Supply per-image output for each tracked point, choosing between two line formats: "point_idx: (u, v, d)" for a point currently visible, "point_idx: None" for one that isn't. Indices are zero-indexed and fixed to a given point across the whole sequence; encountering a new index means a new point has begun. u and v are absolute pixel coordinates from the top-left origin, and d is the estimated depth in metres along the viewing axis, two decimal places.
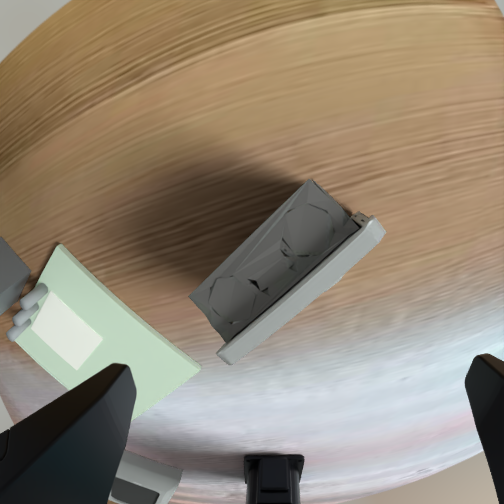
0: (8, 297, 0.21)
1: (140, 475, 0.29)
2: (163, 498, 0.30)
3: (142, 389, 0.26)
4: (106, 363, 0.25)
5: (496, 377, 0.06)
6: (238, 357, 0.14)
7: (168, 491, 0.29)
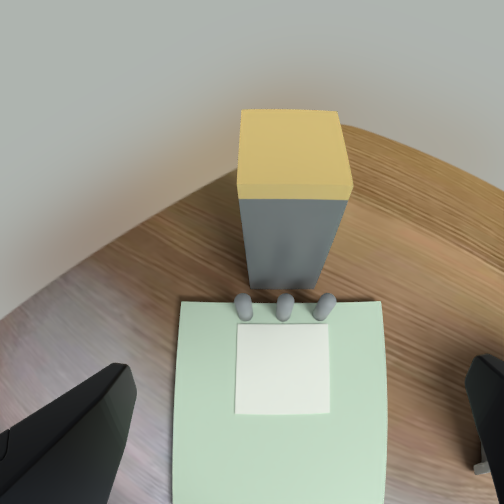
0: (288, 275, 0.21)
1: None
2: None
3: (294, 493, 0.16)
4: (294, 438, 0.18)
5: (496, 377, 0.06)
6: None
7: None
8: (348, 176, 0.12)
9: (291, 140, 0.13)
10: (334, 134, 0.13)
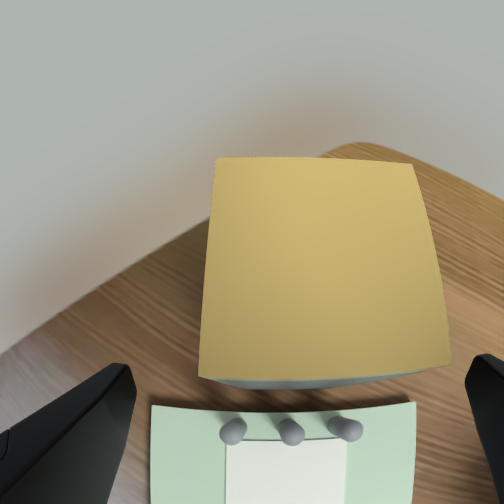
0: (298, 388, 0.13)
1: None
2: None
3: None
4: None
5: (496, 377, 0.06)
6: None
7: None
8: (444, 340, 0.05)
9: (326, 245, 0.06)
10: (414, 225, 0.06)
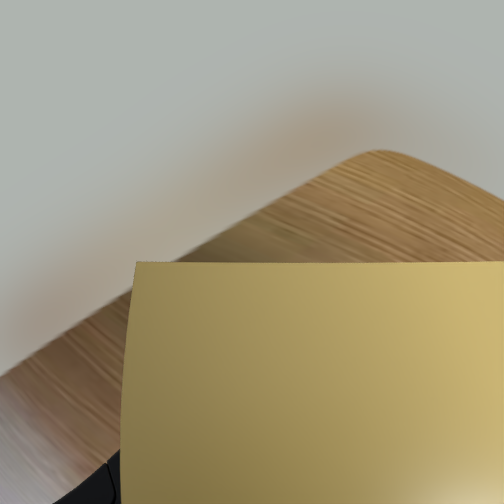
0: None
1: None
2: None
3: None
4: None
5: None
6: None
7: None
8: None
9: None
10: None
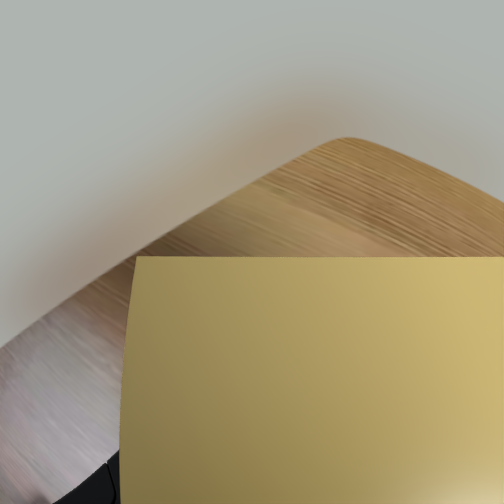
0: None
1: None
2: None
3: None
4: None
5: None
6: None
7: None
8: None
9: None
10: None
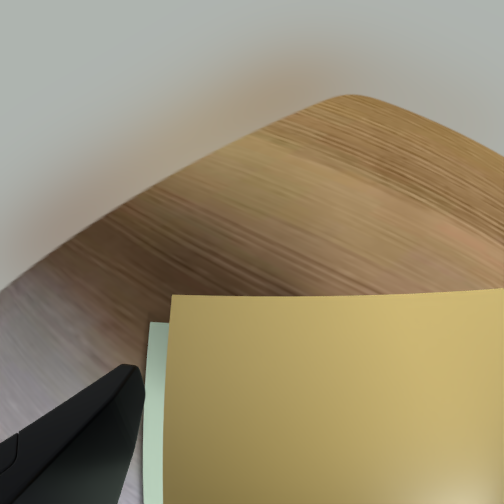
0: None
1: None
2: None
3: None
4: None
5: None
6: None
7: None
8: None
9: (370, 480, 0.03)
10: None
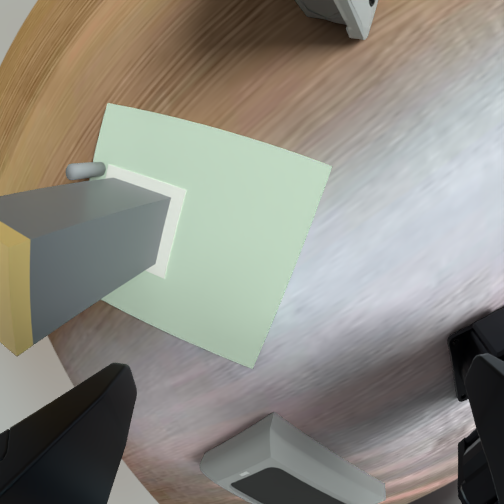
0: (142, 236, 0.17)
1: (234, 459, 0.22)
2: (298, 471, 0.20)
3: (264, 256, 0.19)
4: (201, 233, 0.19)
5: (496, 377, 0.06)
6: None
7: (275, 454, 0.20)
8: (1, 245, 0.08)
9: None
10: None
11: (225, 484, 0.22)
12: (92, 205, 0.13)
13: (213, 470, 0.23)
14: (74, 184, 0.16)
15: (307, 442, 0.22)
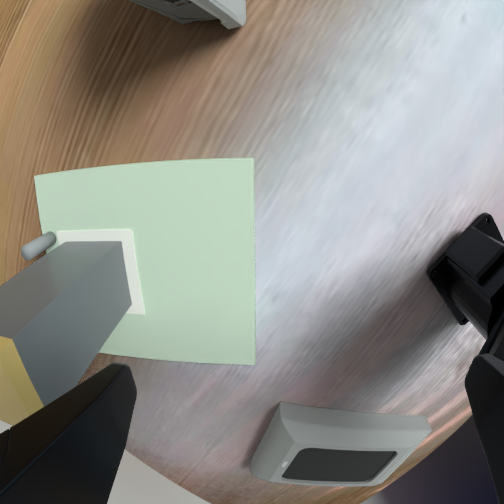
0: (109, 287, 0.17)
1: (270, 455, 0.24)
2: (327, 443, 0.22)
3: (223, 262, 0.19)
4: (160, 263, 0.20)
5: (496, 377, 0.06)
6: None
7: (297, 438, 0.22)
8: None
9: None
10: None
11: (277, 479, 0.24)
12: (53, 280, 0.14)
13: (261, 471, 0.25)
14: (32, 265, 0.15)
15: (324, 414, 0.24)
